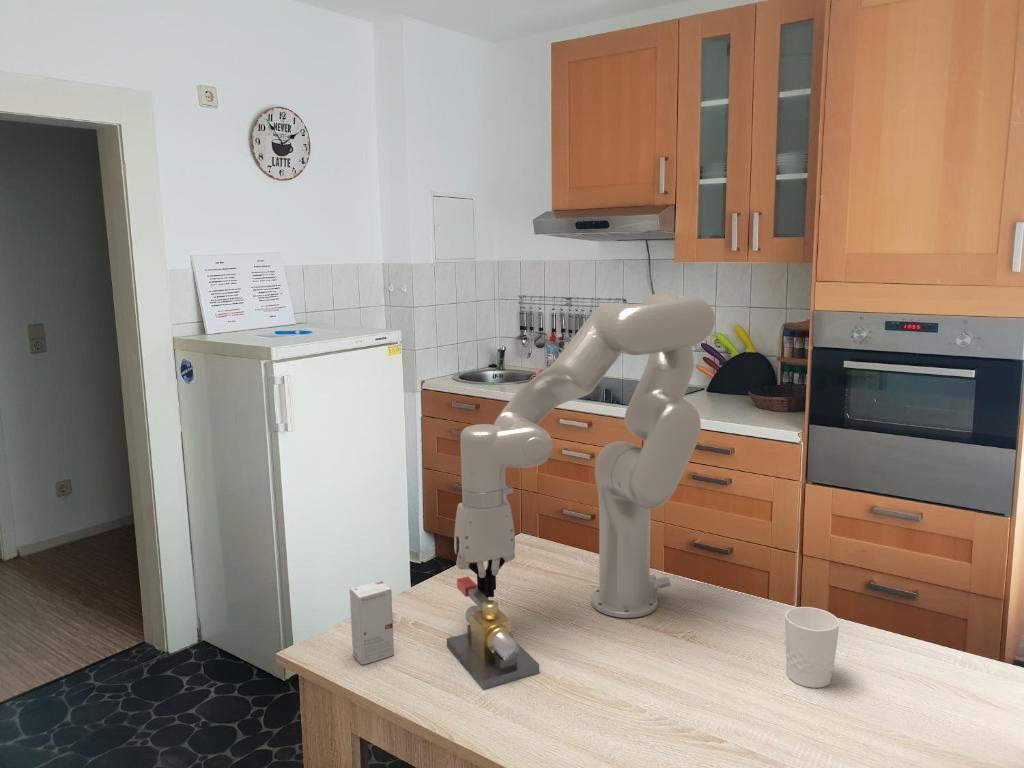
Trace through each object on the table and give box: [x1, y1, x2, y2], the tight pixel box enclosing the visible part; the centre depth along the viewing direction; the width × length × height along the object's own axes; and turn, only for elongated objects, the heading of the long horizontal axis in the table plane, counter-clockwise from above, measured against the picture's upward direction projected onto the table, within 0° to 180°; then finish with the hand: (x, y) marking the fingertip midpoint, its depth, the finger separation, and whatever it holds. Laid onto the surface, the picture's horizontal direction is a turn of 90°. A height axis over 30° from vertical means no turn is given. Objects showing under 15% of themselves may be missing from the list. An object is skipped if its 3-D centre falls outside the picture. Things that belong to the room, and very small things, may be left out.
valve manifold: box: [446, 604, 540, 691], centre depth 131 cm, size 10×15×8 cm, turn 27°
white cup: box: [784, 606, 840, 689], centre depth 124 cm, size 8×8×10 cm
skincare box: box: [349, 580, 395, 666], centre depth 132 cm, size 6×4×12 cm
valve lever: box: [456, 576, 499, 619], centre depth 135 cm, size 13×3×2 cm, turn 26°
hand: (486, 594), depth 139 cm, fingers closed
